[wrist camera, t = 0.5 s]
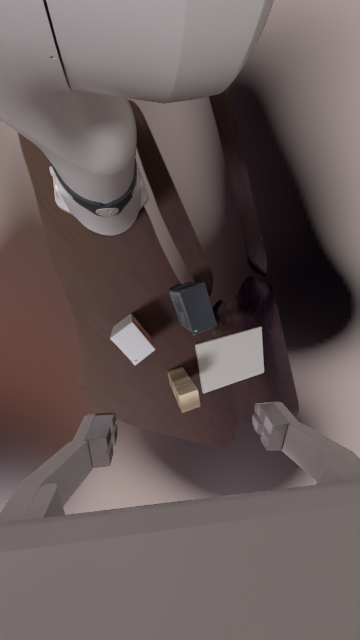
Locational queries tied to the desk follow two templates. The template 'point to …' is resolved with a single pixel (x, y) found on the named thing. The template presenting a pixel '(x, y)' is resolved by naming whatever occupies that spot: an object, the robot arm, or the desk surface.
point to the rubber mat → (230, 358)
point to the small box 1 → (132, 339)
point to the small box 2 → (193, 307)
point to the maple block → (183, 389)
